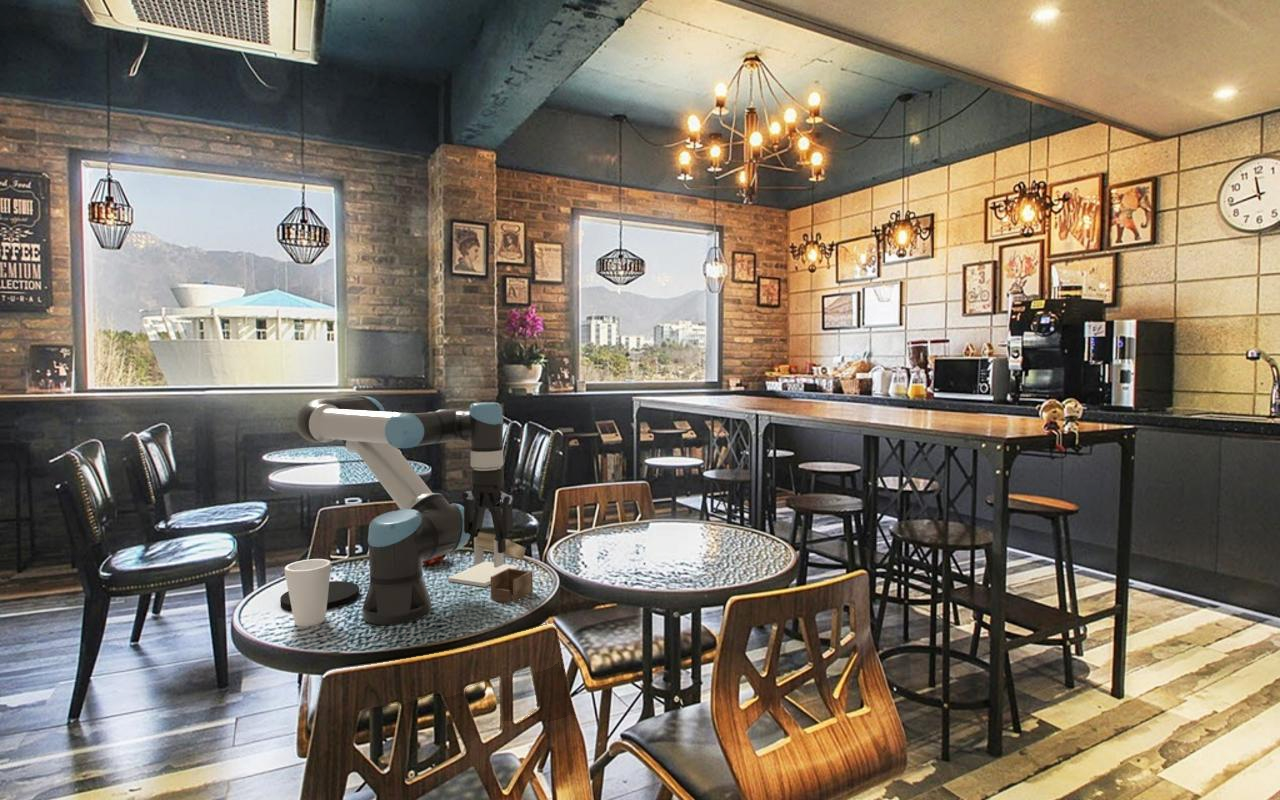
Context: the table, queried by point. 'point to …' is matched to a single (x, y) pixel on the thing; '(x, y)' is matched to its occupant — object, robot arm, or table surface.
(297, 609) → the foam cup
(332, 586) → the wireless charger
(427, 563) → the dragon fruit
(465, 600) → the table surface
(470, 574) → the cream pad
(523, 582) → the box
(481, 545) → the maple bar
